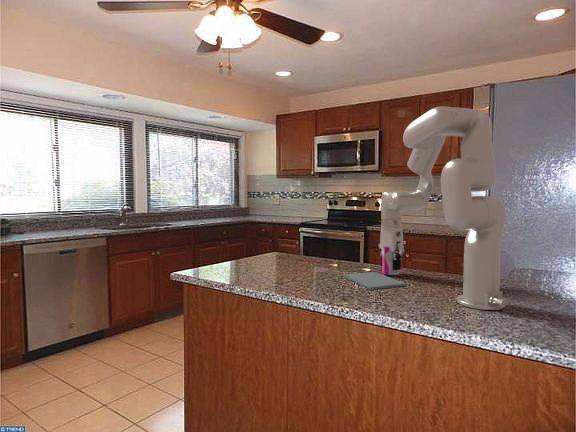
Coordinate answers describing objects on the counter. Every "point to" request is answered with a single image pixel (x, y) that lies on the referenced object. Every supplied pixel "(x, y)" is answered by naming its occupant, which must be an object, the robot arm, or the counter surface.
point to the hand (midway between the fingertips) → (390, 267)
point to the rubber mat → (374, 280)
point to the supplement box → (388, 263)
